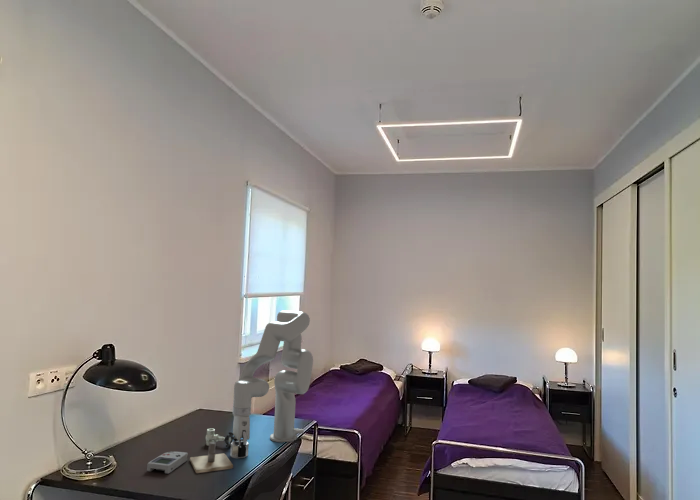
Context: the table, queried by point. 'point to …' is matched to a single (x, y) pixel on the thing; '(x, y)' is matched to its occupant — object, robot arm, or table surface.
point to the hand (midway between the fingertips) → (239, 453)
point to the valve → (218, 437)
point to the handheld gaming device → (168, 461)
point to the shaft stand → (211, 461)
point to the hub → (235, 449)
